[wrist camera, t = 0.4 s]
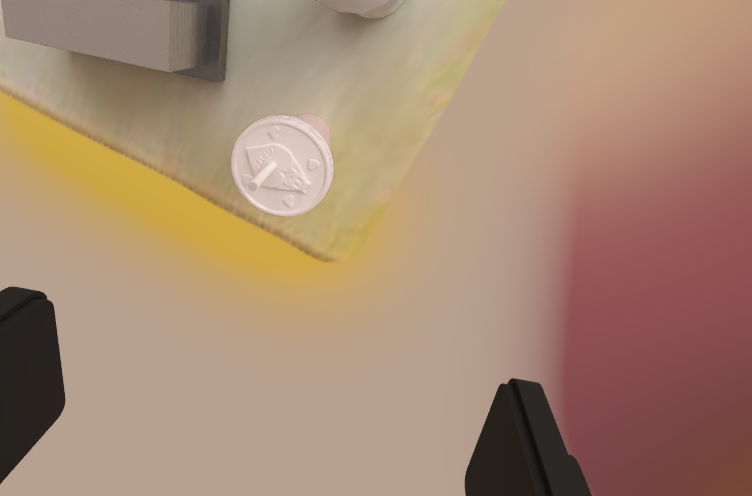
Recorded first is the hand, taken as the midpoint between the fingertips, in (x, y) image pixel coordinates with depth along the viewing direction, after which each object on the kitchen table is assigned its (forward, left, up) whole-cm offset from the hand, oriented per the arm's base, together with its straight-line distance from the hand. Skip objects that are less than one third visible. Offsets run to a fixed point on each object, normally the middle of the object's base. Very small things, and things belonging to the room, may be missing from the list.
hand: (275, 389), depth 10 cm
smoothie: (+2, -4, -31) cm, 31 cm away
